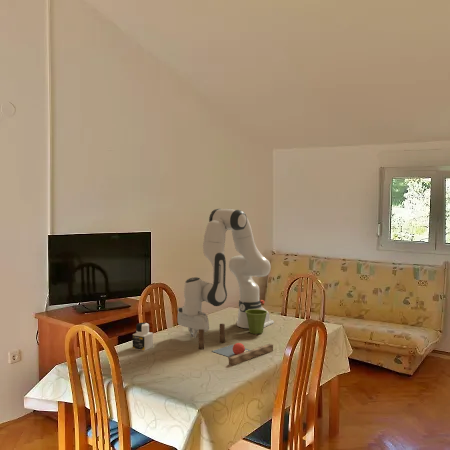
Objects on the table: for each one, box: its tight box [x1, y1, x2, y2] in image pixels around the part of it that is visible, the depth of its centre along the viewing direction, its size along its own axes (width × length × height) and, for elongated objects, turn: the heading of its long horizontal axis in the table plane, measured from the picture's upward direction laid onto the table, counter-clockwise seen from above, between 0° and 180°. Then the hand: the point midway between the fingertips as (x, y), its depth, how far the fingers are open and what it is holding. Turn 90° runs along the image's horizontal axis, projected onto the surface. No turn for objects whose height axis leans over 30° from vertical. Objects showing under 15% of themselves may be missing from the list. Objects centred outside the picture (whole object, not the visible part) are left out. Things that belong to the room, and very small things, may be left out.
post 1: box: [198, 329, 205, 350], centre depth 241 cm, size 3×3×9 cm
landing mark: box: [211, 344, 251, 358], centre depth 236 cm, size 14×14×1 cm
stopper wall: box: [228, 343, 274, 366], centre depth 228 cm, size 28×2×3 cm, turn 136°
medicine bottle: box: [132, 322, 154, 352], centre depth 242 cm, size 7×7×12 cm
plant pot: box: [245, 309, 268, 335], centre depth 268 cm, size 12×12×11 cm
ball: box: [233, 342, 246, 355], centre depth 231 cm, size 6×6×6 cm
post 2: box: [219, 323, 226, 344], centre depth 251 cm, size 3×3×9 cm
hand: (193, 336), depth 254 cm, fingers closed
